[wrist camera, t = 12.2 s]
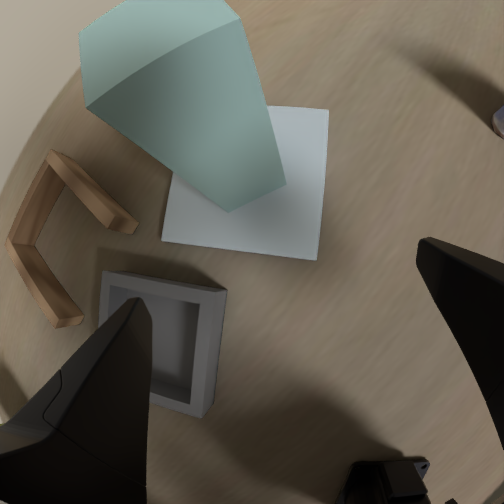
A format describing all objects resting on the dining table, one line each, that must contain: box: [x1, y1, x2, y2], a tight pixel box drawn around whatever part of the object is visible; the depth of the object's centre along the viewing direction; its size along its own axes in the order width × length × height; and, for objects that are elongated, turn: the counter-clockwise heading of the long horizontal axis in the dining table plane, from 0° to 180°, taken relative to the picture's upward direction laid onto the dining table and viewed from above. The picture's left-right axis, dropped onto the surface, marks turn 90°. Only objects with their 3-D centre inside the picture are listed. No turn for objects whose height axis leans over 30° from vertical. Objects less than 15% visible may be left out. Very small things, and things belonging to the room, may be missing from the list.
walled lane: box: [5, 149, 139, 329], centre depth 20 cm, size 10×10×3 cm
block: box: [79, 0, 287, 213], centre depth 12 cm, size 4×4×13 cm
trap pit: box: [98, 271, 227, 419], centre depth 18 cm, size 8×8×2 cm
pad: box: [161, 106, 329, 261], centre depth 18 cm, size 10×10×1 cm
